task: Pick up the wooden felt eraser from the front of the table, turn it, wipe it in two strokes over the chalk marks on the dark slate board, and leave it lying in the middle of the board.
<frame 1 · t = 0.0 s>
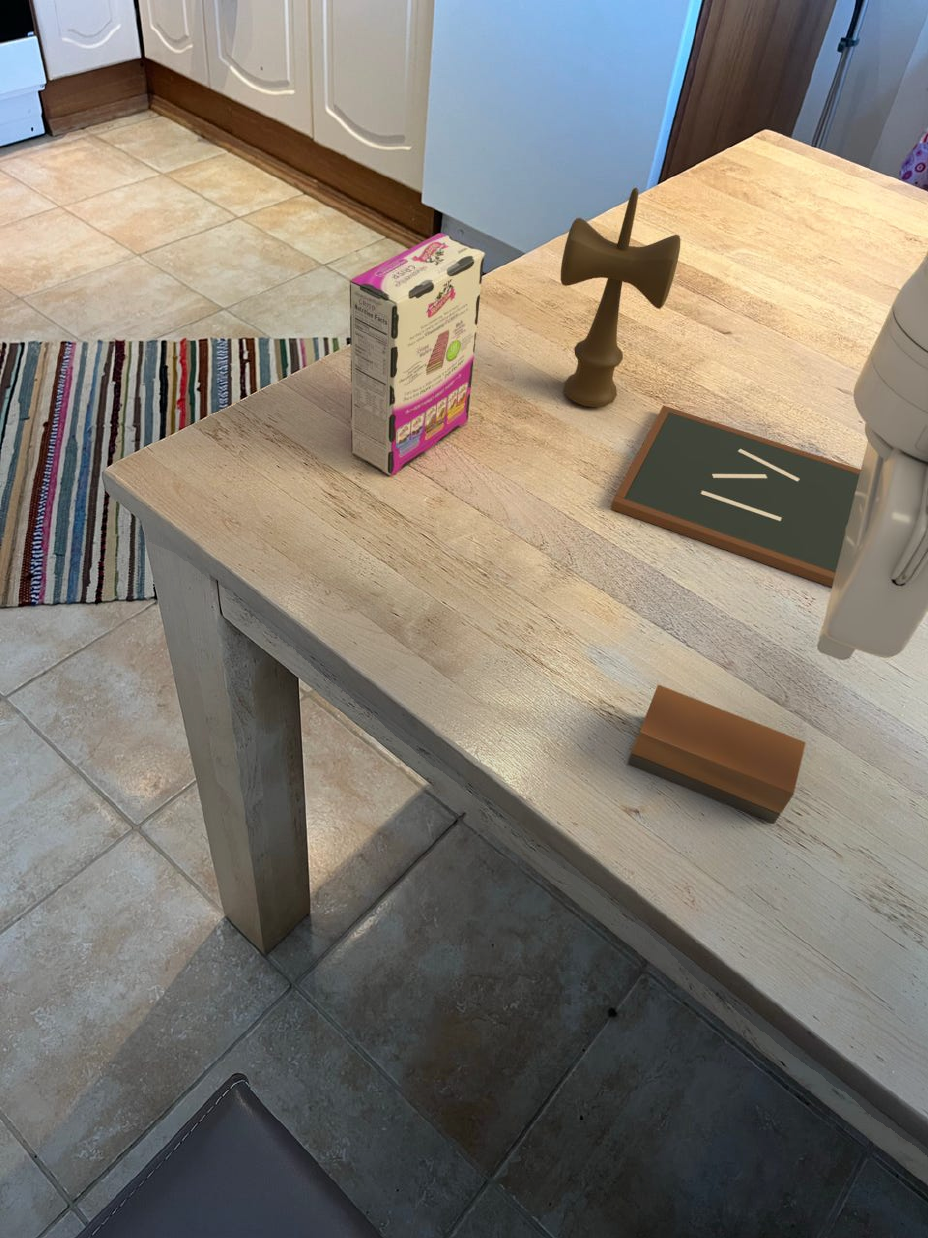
hand: (845, 592, 54), 15 cm above the table, tool pointing down, fingers open, 8 cm apart
kendama: (588, 397, 92), on the table
candy bar box: (409, 439, 85), on the table
eraser: (707, 768, 63), on the table
chalkboard: (744, 495, 83), on the table
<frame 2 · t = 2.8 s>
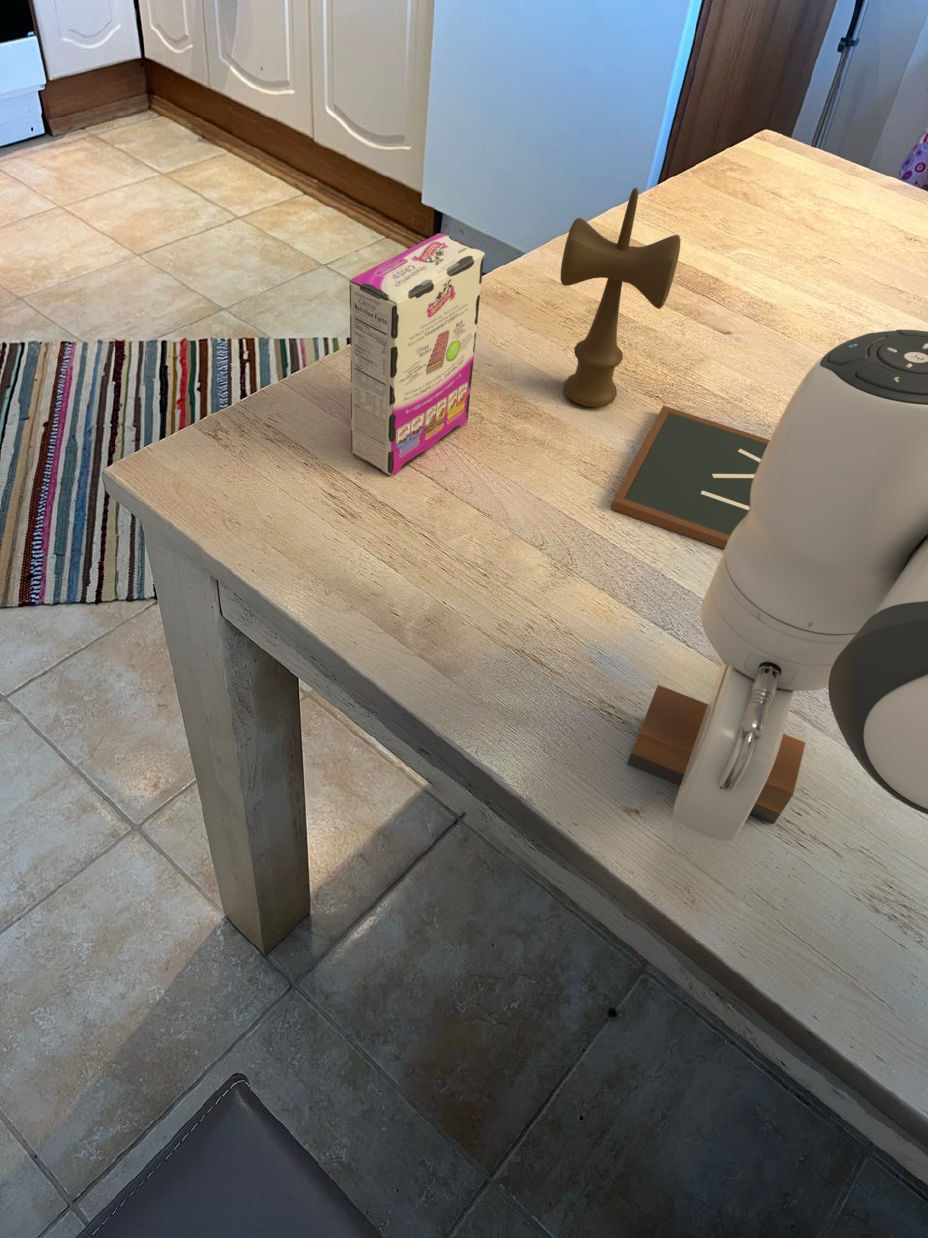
hand: (715, 753, 62), 2 cm above the table, tool pointing down, fingers closed on eraser, 4 cm apart
eraser: (707, 768, 63), on the table, touching gripper
everything else where it was.
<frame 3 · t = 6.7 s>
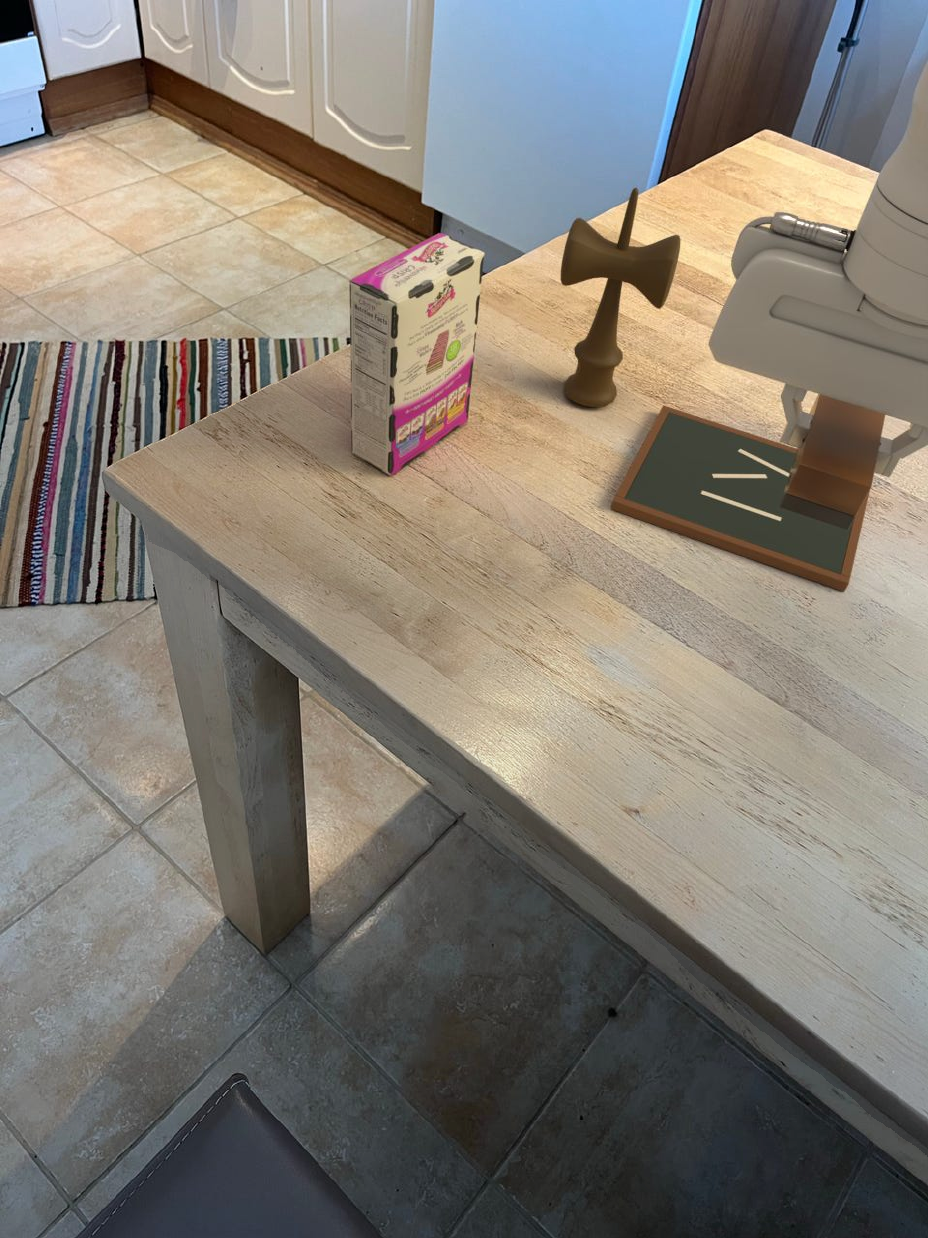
hand: (835, 455, 62), 16 cm above the table, tool pointing down, fingers closed on eraser, 4 cm apart
eraser: (824, 475, 63), point 14 cm above the table, touching gripper
everything else where it was.
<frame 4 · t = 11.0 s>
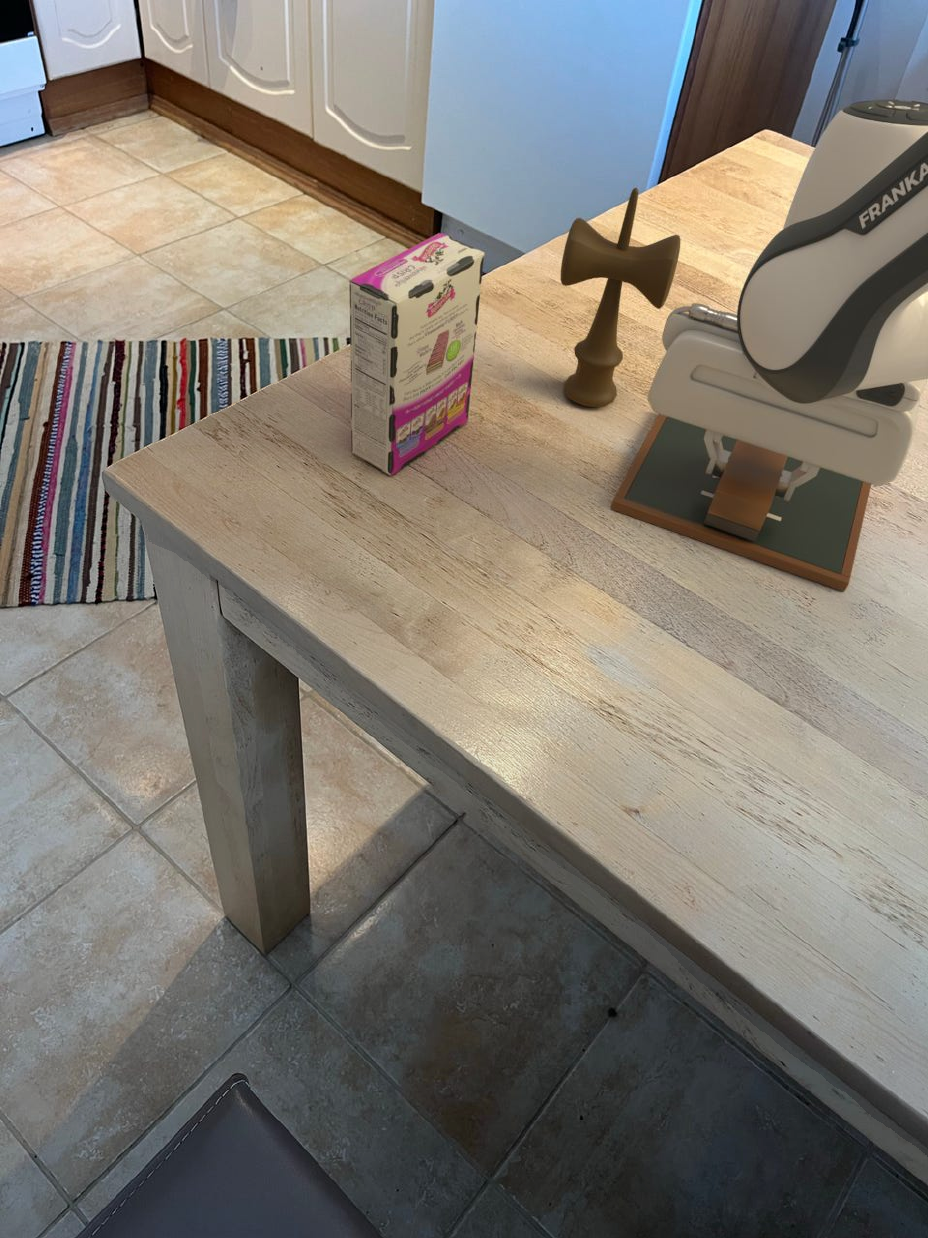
hand: (748, 483, 80), 3 cm above the table, tool pointing down, fingers closed on eraser, 4 cm apart
eraser: (741, 498, 81), point 1 cm above the table, touching gripper
everything else where it was.
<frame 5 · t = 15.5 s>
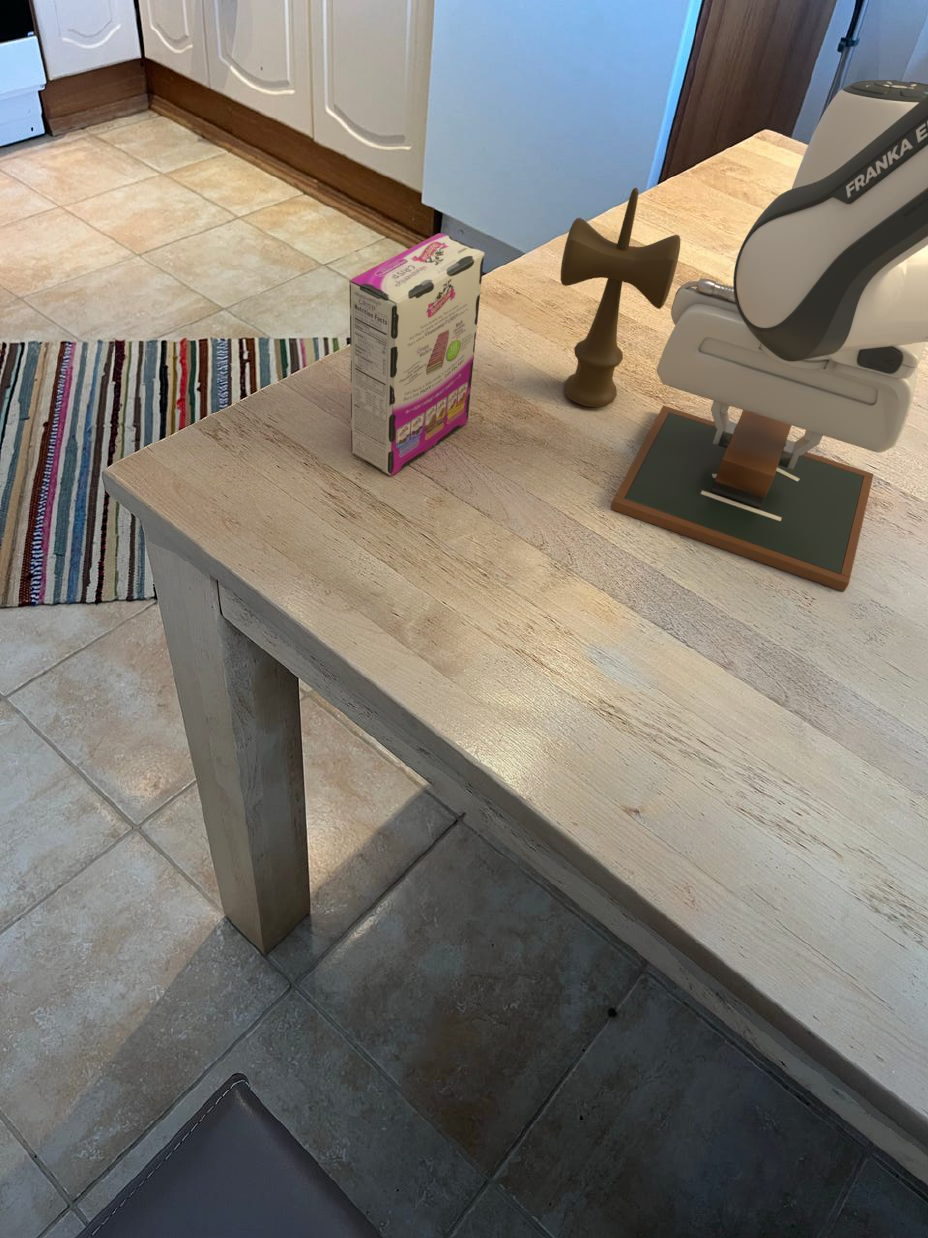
hand: (753, 453, 83), 3 cm above the table, tool pointing down, fingers closed on eraser, 4 cm apart
eraser: (747, 468, 84), point 1 cm above the table, touching chalkboard, gripper
everything else where it was.
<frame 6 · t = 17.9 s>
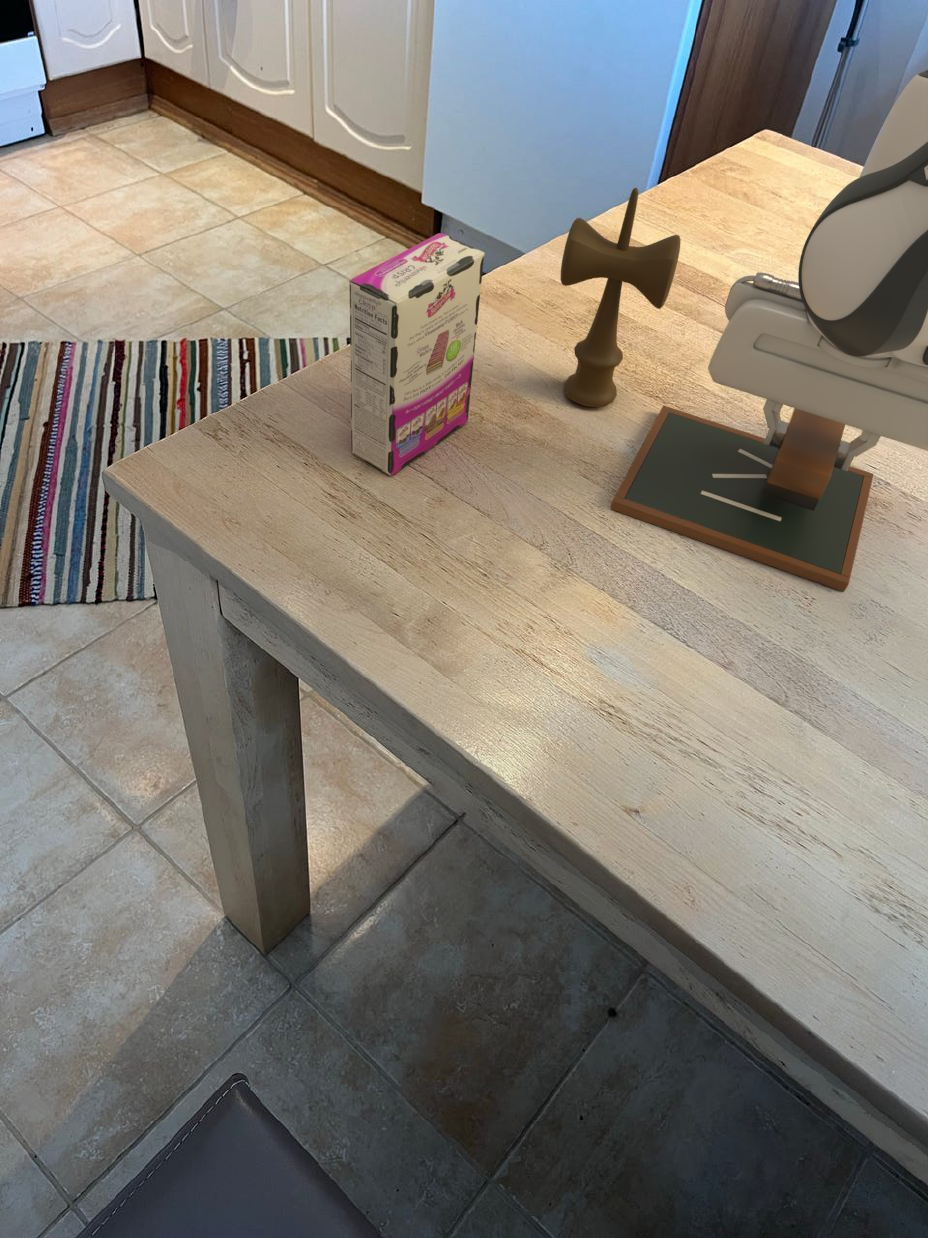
hand: (805, 454, 81), 5 cm above the table, tool pointing down, fingers closed on eraser, 4 cm apart
eraser: (798, 469, 82), point 3 cm above the table, touching gripper
everything else where it was.
when the fingers open (3 cm above the table, at t = 19.5 s): eraser stays where it is, resting on chalkboard.
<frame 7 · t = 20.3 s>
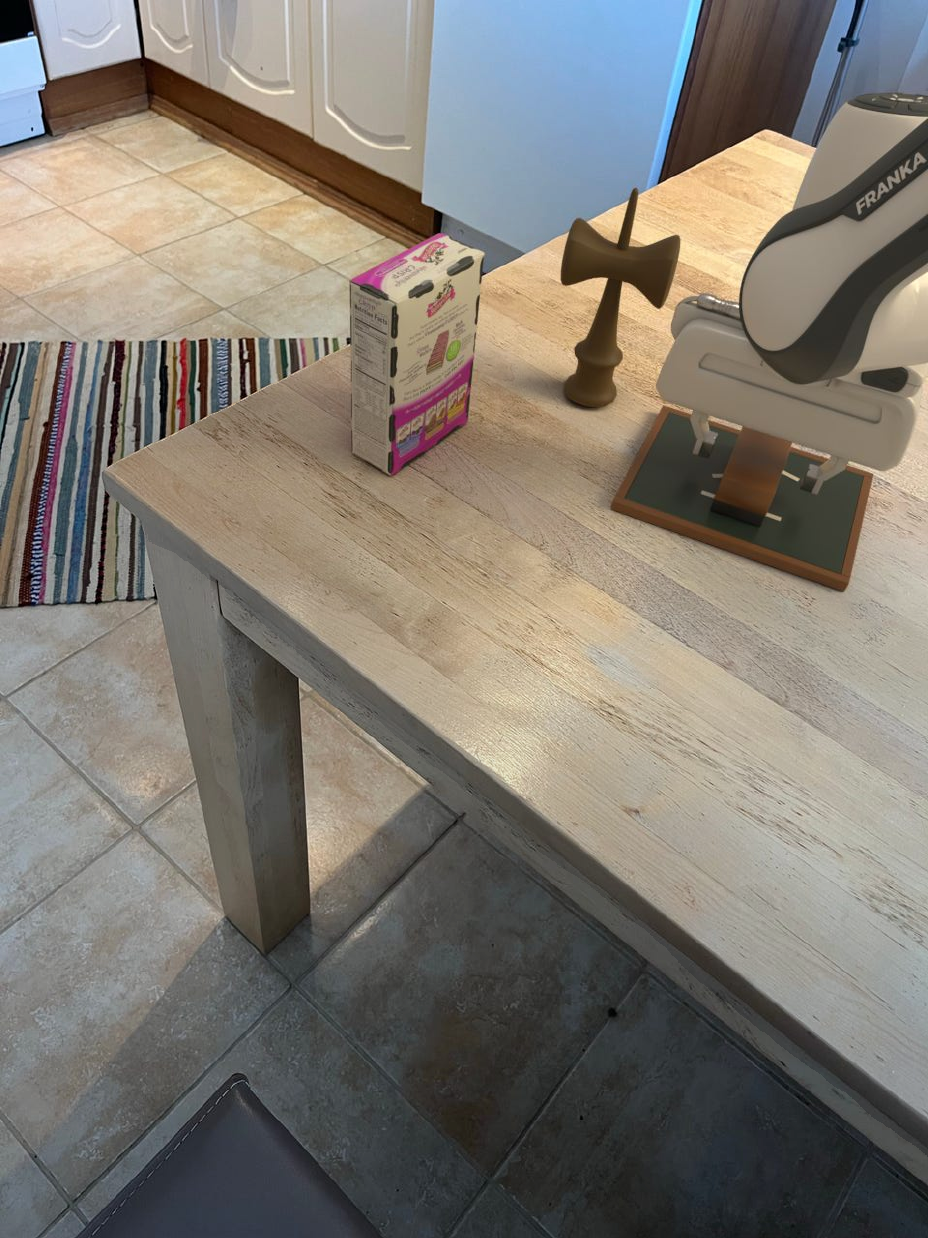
hand: (754, 470, 81), 3 cm above the table, tool pointing down, fingers open, 8 cm apart
eraser: (747, 485, 83), point 1 cm above the table, touching chalkboard
everything else where it was.
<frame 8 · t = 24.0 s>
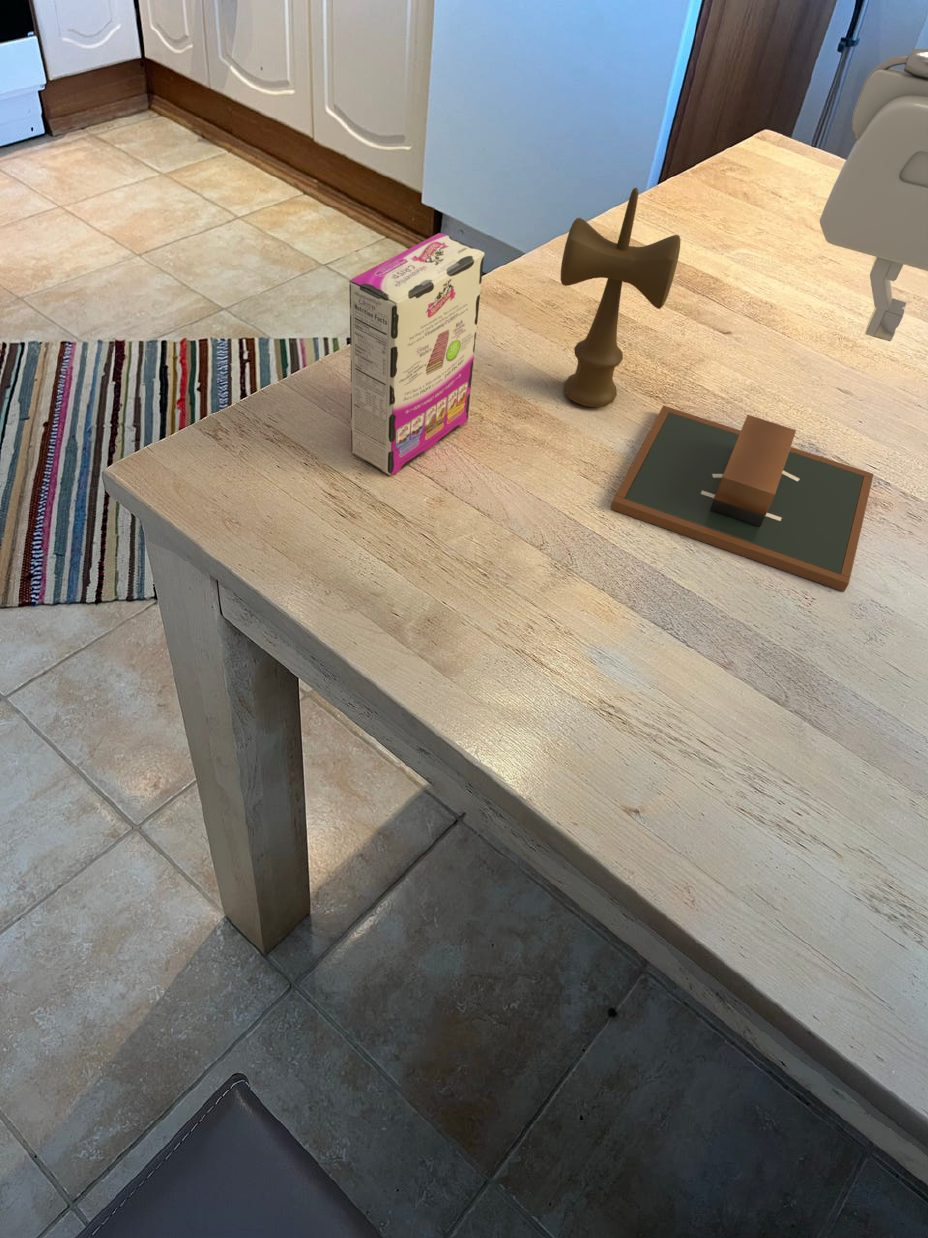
nothing on the table moved.
at the end: eraser inside the target area on the chalkboard (0.1 cm from its centre), point 1.1 cm above the chalkboard's base; eraser tilted 0°; eraser moved 30.3 cm from its start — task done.
